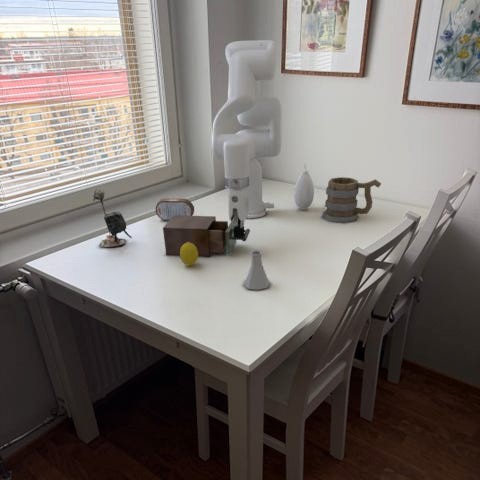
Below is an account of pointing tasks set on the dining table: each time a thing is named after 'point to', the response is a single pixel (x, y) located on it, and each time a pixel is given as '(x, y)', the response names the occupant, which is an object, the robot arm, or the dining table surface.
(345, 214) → the tankard
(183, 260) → the lemon
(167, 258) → the dining table surface
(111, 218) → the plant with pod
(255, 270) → the flask
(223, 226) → the drawer
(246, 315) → the dining table surface
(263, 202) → the robot arm
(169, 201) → the tin
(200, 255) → the cabinet
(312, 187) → the air blower bulb
